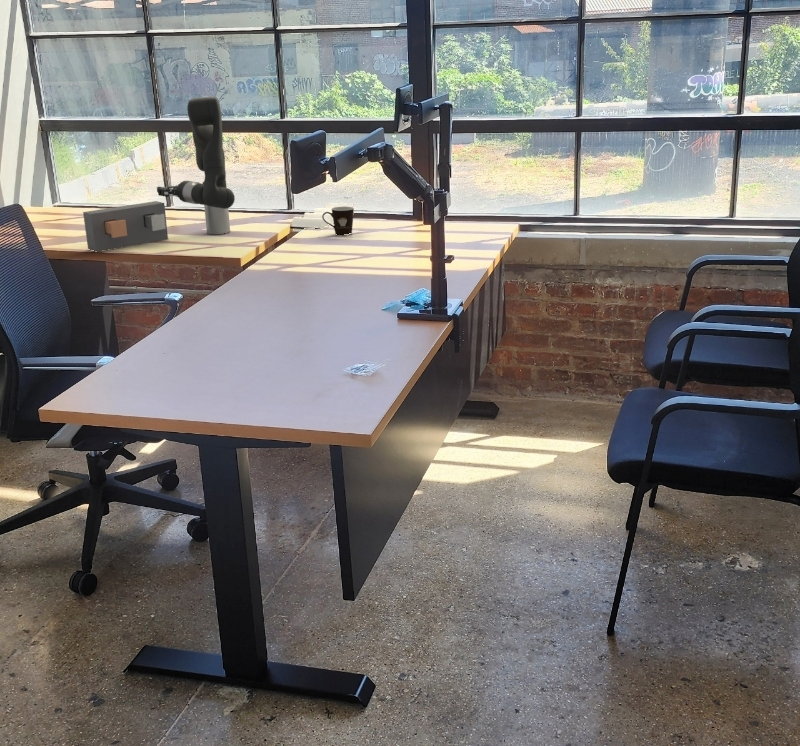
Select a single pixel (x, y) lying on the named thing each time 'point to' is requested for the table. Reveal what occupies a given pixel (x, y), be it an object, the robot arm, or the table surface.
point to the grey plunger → (154, 221)
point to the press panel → (134, 226)
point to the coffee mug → (341, 219)
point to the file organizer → (317, 217)
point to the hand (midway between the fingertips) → (168, 188)
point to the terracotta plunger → (115, 228)
